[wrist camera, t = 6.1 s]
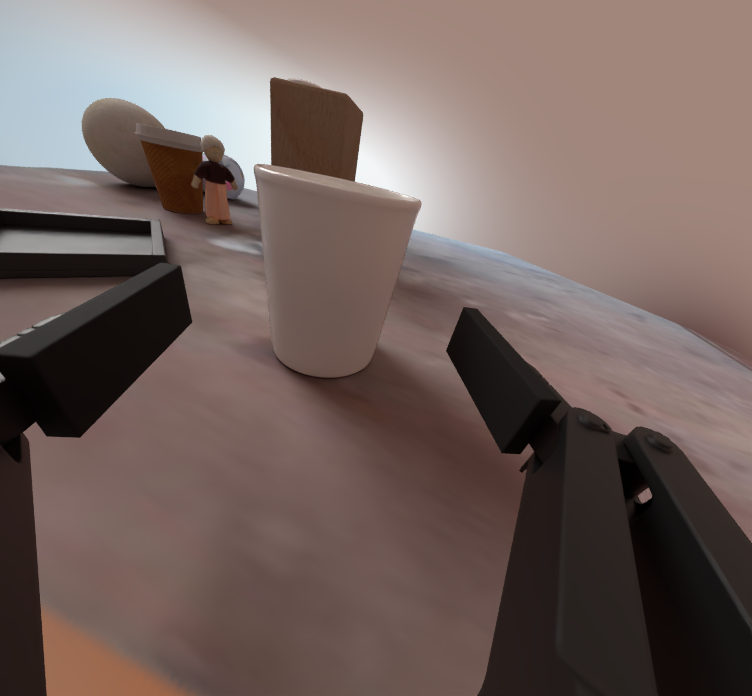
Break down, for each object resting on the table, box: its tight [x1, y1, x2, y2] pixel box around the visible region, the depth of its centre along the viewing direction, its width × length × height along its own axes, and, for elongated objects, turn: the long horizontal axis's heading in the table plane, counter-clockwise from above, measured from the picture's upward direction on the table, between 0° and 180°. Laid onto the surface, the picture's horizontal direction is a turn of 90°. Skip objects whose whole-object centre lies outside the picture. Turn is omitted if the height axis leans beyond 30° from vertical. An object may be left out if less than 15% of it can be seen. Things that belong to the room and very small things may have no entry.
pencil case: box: [203, 153, 244, 199], centre depth 68 cm, size 21×9×10 cm, turn 60°
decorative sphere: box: [82, 98, 165, 187], centre depth 57 cm, size 15×15×15 cm
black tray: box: [0, 208, 168, 278], centre depth 28 cm, size 14×14×2 cm
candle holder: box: [254, 164, 421, 378], centre depth 19 cm, size 10×10×12 cm
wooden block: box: [270, 77, 363, 182], centre depth 42 cm, size 10×10×20 cm
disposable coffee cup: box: [135, 123, 204, 213], centre depth 48 cm, size 10×10×12 cm
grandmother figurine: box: [191, 135, 238, 224], centre depth 45 cm, size 8×4×13 cm, turn 157°
